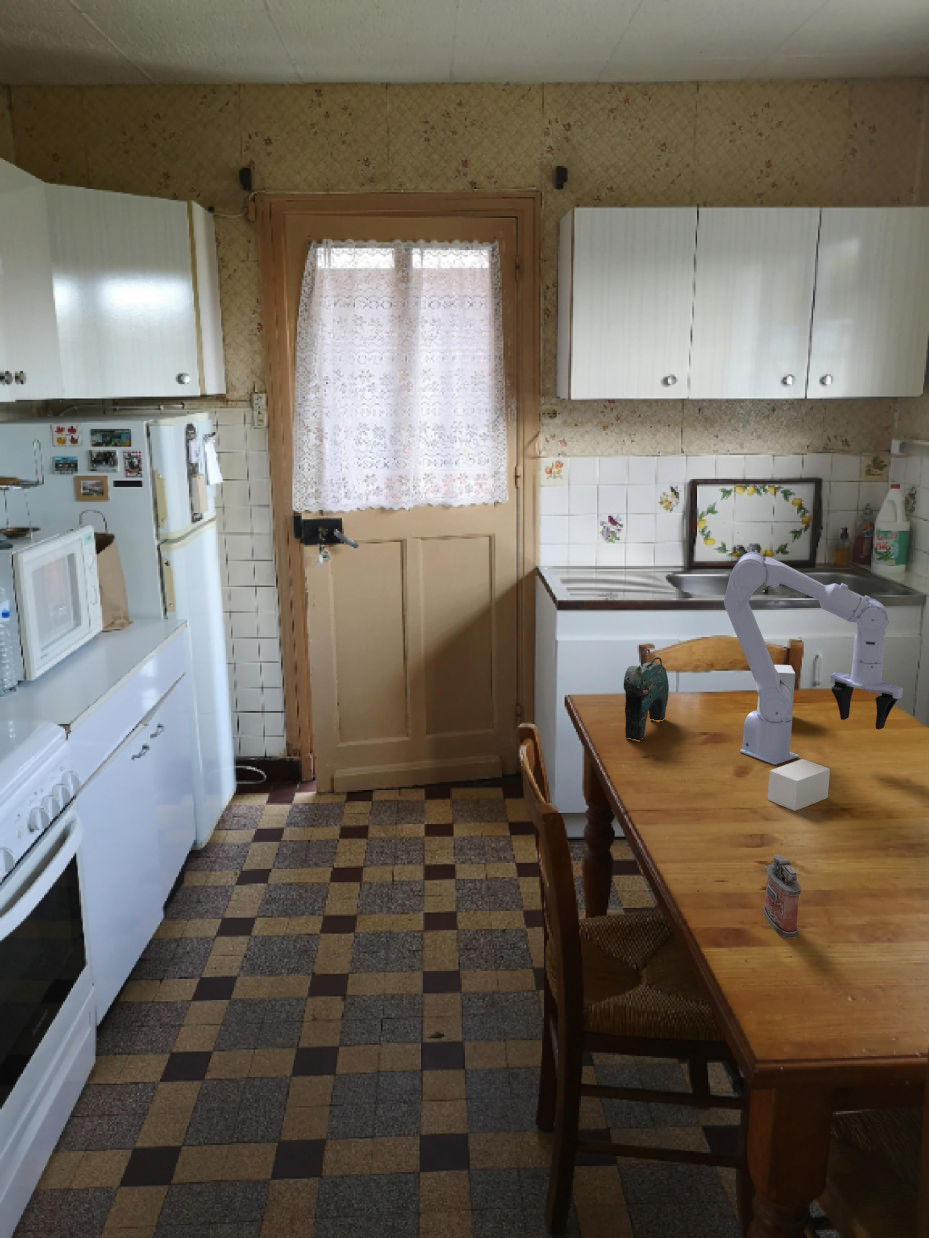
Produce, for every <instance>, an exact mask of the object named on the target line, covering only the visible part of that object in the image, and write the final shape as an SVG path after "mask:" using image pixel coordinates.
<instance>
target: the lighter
mask: <svg viewBox="0 0 929 1238" xmlns="http://www.w3.org/2000/svg"><path fill="white" fill-rule="evenodd" d="M765 867H766V868H765V869H766V871H765V872H766V885H765V886H766V888H765V900H764V905H763V907H762V908H763V910H762V911H763V912H762V913H763V915H764V918H765V920H766V921H767V923H768V924H769V926H770V927H771V928H772V929H773V931H775V932H776V933H777V934H778V935H779V936H781V937H782V938H785V939H794V938H797V936H798V932H799V929H798V926H797V925H798V915H799V914H798V912H799V900H800V899H799V898H800V895H801V892H802V887H801V884H800V883H799V881H798V873H797V872H796V870H795V869H794V868H793V867H792V866H791V862H790V859H789V858H784V857H783V855H781V854H774V855H773V863H770V864H768V865H766V866H765Z"/></svg>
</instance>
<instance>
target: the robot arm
mask: <svg viewBox="0 0 929 1238" xmlns="http://www.w3.org/2000/svg"><path fill="white" fill-rule="evenodd" d="M765 581H766V587H770V586H776V585H784V586H786V587H788V588H791V589H793V590H795V591H797V592H800V593H802V594H804V595H807V596H809V597H811V598H814V599H815V600H818V602H819V605H820V608H821V609H822V610H825V611H826V612H829V613H831V614H833V615H835V616H837V617H839V618H841V619H843V620H845V621H847V622H849V623H856V633H855V636H854V642H853V650H852V651H853V653H852V664H851V674H848V673H841V672H835V671H834V672H833V673H830V676H829V683H830V684H833V686H832V687H831V692H832V694H833V696H834V698H835V700H836V703H837V706H838V711H839V715H840V716H839V718H840V720H841V721H844V720H845V721H846V720H847V719H849V717H850V713H851V712H850V711H851V710H850V709H851V700H852V697H853V692H854V689H860V690H863V691H867V692H871V693H876V694H879V695H878V696H876V697H875V698H874V699H875V705H876V718H875V729H876V730H882V729H884V728H885V724H886V721H887V719H888V717H889V714H890V713H891V711H892V709H893V707H894V706H895V704H896V703H897V702H898V701H899V699H901V698H903V691H904V688H903V687H901V686H897V685H894V684H892V683H888V682H886V681H883V680H882V679H883V678H882V677H883V676H882V675H883V665H884V657H885V645H886V639H885V636H886V629H888V627H889V624H890V620H889V616H888V612H887V610H886V607H885V606H884V605H883V604H882V602H880V601H879V600H877V599H876V598H871V597H870V596H869V595H860V594H859V593H857V592H855V591H852V590H851V589H849V588H848V587H849V586H848V585H847V584H845V583H844V582H841V583H840V584H837V583H836V582H835V583H831V584H824V583H821V582H819V581H818V580H815V578H812V577H810V576H809V575H806V574H804V573H802V572H801V571H799V570H796V569H795V568H793V567H791V566H789V565H787V564H785V563H783V562H781V561H779V560H777V559H774V558H772V557H769V556H766V557H765V556H764V555H763V554H761V553H759V552H756V551H751V552H747V553H744V554H743V555H741V557H739V559H738V560H737V562H736V564H735V565H734V566H733V568H732V570H731V573H730V575H729V577H728V583H727V587H726V591H725V594H724V599H723V605H724V609H725V610H726V612H727V615H728V617H729V620H730V622H731V625H732V627H733V630H734V632H735V635H736V638H737V639H738V642H739V644H740V647H741V650H742V652H743V656H744V657H745V659H746V662H747V666H749V669H750V672H751V674H752V677H753V680H754V683H755V688H756V693H757V696H758V695H759V699H760V702H759V710H758V711H757V710H753V711H750V713H748V714H747V716H746V718H745V720H744V723H743V733H742V735H743V736H742V748H741V749H739V752H740V753H742V754H744V755H747V756H750V757H752V758H755V759H757V760H760V761H763V762H766V763H768V764H771V765H774V766H775V765H776V766H777V765H779V764H782V763H785V762H788V761H791V760H795V759H797V758H798V757H799V754H797V753H794V752H791V741H792V730H793V729H792V727H793V713H792V714H791V713H790V710H791V705H790V702H791V699H792V692H791V689H790V688H789V687H788V685H786V684H785V683H784V682H783V681H782V679H781V677H780V675H779V673H778V672H777V670H776V669H775V666H774V665H775V664H774V662H773V660H772V659H773V658H772V657H771V654H770V651H769V650H768V647H767V645H766V642H765V640H764V637H763V635H762V632H761V628H760V627H759V625H758V622H757V620H756V618H755V617H756V616H755V615H754V612H753V609H752V607H751V605H750V600H751V598H752V596H753V595H754V592H755V591H757V589H759V588H760V587H761V586H762V585H763V583H764V582H765Z"/></svg>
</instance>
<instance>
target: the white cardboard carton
mask: <svg viewBox="0 0 929 1238" xmlns="http://www.w3.org/2000/svg"><path fill="white" fill-rule="evenodd" d="M830 774H831V768H828V767H826V766H823V765H820V764H818V763H815V762H812V761H809V760H806V759H803V758H802V759H799V760H795V761H792V762H790V763H787V764H784V765H782V766H779V767H778V766H777V767H776V768H773V769H770V770H769V774H768V789H767V801H770V802H772V803H775V804H777V805H779V806H782V807H785V808H787V809H789V810H790V811H791V810H792V811H794V812H796V811H799V810H801V809H803V808H806V807H808V806H812V805H813V804H816V803H818V802H821V801H823V800H825V799H828V797H829V787H830V785H829V784H830Z"/></svg>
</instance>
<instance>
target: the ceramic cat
mask: <svg viewBox="0 0 929 1238" xmlns="http://www.w3.org/2000/svg"><path fill="white" fill-rule="evenodd" d="M646 652H647V653H648V654H650V653H651V650H650V649H649V648H646V649H644V650H643V651H642V653H641V659H640V660H641V662H640V665H630V666H628V668H626V671H625V673H624V677H623V690H624V692H625V695H624V698H625V706H624V713H625V714H624V715H625V728H624V730H625V739H626V738H631V739H636V740H641V739H642V738H645V733H646V727H647V720H648V719H649V718H650V719H654V720H663V719H664V718H665V719H666V710H667V706H668V700H669V693H670V690H669V689H670V687H669V686H670V685H669V678H668V672H667V669H666V668H665V666H664V665H663V661H662V657H660V656H656V657H654V658H652V659H651V660H650V662H644V656H645V654H646ZM656 660H658V661H659V663H655V661H656ZM648 717H649V718H648ZM665 719H664V720H665ZM641 741H642V740H641Z"/></svg>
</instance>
